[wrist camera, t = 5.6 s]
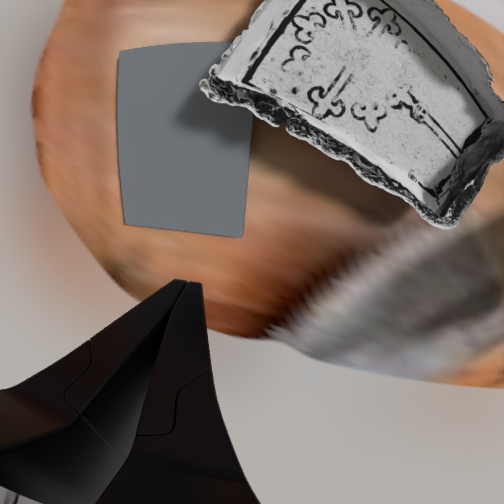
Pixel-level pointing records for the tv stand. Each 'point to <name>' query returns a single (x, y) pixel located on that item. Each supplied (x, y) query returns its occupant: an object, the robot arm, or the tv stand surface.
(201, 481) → the robot arm
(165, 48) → the mat
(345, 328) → the tv stand surface
